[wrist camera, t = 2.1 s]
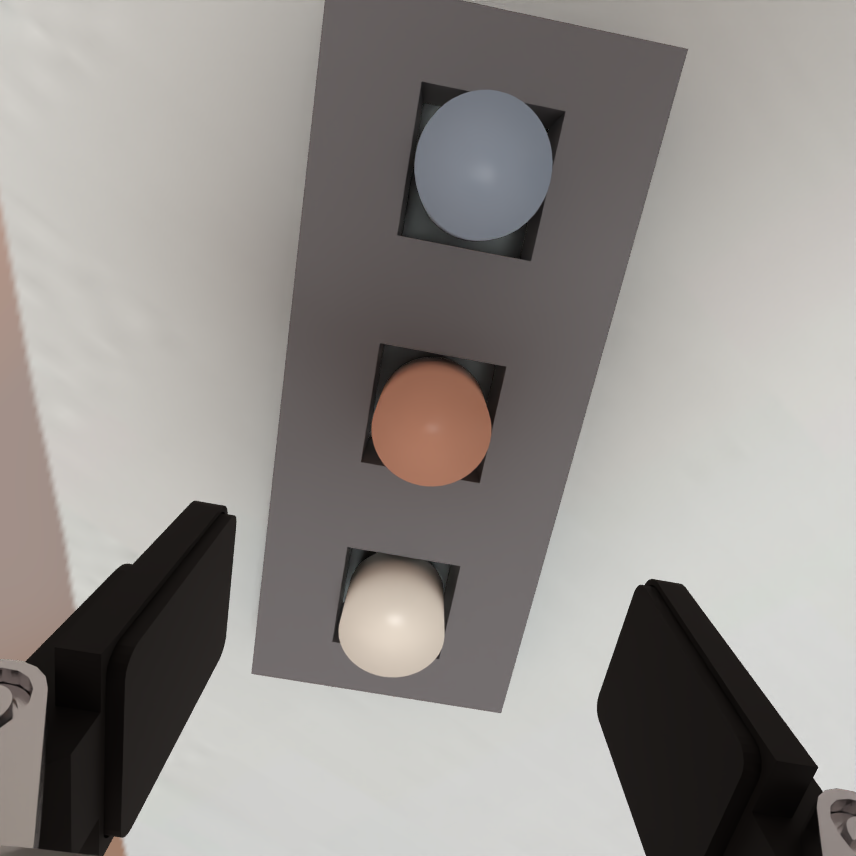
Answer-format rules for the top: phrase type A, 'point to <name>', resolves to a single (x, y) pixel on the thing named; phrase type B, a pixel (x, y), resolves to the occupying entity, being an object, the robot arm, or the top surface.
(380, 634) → the cream button
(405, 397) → the terracotta button
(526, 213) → the slate blue button
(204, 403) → the top surface
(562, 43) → the button panel
